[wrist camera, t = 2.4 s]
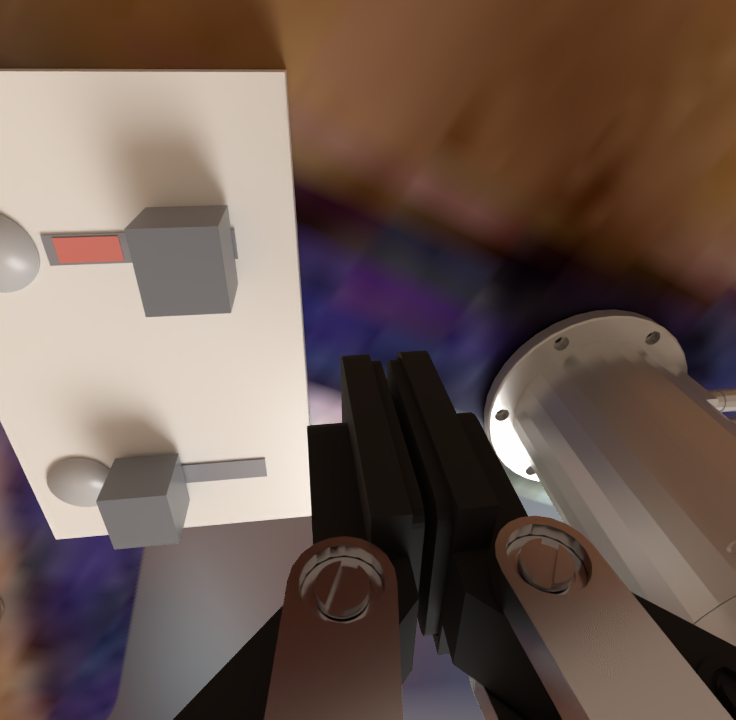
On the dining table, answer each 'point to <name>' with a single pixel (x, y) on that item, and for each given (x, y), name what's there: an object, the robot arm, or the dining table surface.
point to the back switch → (144, 501)
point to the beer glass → (1, 610)
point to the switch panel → (122, 297)
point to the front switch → (183, 260)
